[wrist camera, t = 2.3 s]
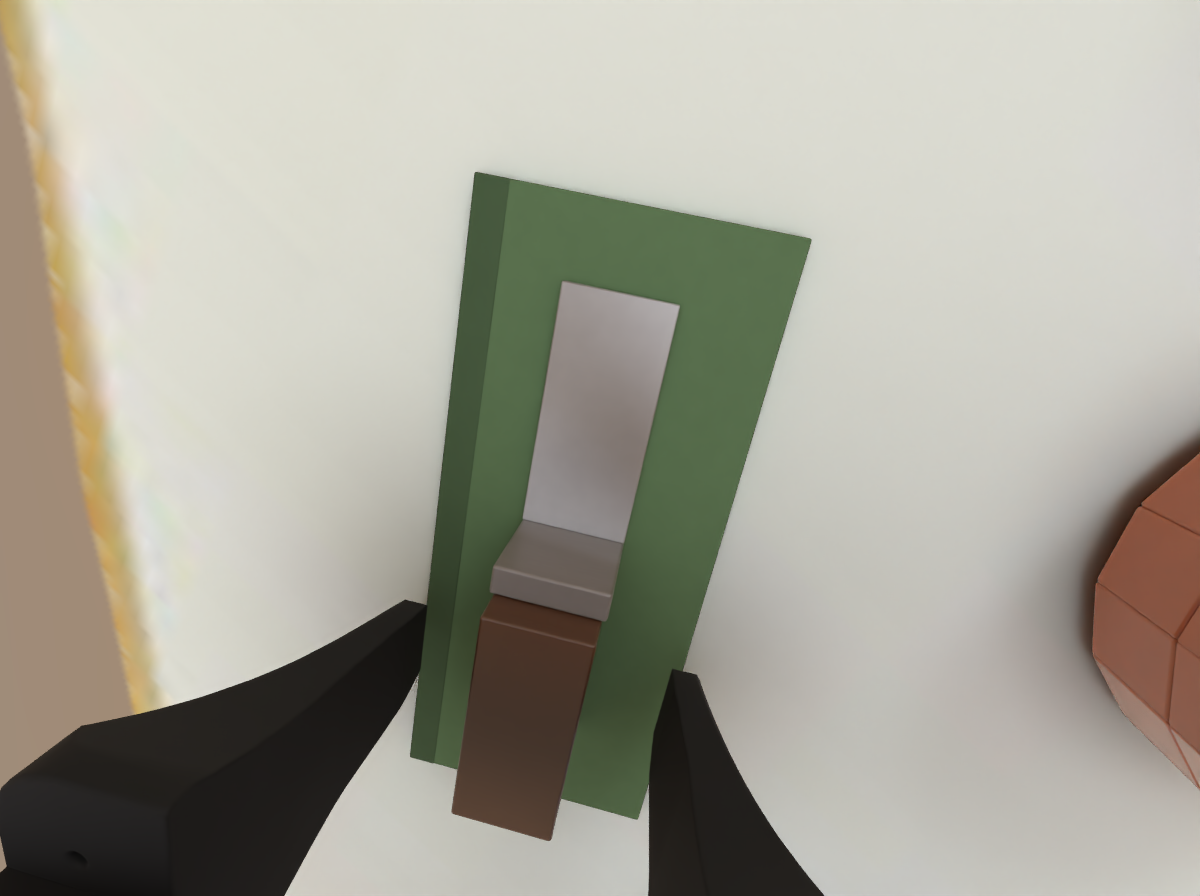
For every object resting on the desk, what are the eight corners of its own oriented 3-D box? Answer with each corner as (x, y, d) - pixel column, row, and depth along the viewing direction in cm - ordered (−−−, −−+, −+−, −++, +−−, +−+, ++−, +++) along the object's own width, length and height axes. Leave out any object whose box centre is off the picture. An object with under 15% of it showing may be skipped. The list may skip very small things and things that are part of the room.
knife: (580, 728, 16) (554, 844, 13) (493, 705, 16) (446, 812, 13) (680, 304, 12) (680, 315, 9) (564, 280, 12) (522, 282, 9)
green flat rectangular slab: (638, 811, 17) (637, 821, 17) (414, 748, 17) (409, 757, 17) (809, 239, 12) (812, 238, 11) (479, 173, 12) (474, 171, 12)
